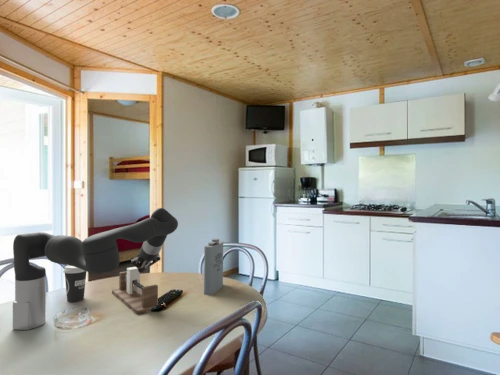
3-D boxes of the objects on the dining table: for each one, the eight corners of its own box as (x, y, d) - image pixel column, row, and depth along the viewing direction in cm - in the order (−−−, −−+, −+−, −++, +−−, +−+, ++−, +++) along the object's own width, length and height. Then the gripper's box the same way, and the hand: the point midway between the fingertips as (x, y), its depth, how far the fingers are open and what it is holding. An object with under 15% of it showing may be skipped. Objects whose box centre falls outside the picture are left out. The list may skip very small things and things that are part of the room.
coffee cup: (69, 305, 137) (69, 269, 137) (59, 300, 143) (59, 266, 143) (91, 299, 145) (91, 265, 145) (81, 294, 151) (81, 262, 151)
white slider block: (139, 292, 148) (139, 268, 148) (129, 294, 145) (129, 269, 145) (136, 290, 151) (136, 266, 151) (126, 292, 148) (126, 268, 148)
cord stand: (165, 307, 136) (165, 284, 136) (137, 314, 128) (137, 290, 128) (137, 288, 161) (137, 268, 160) (112, 293, 153) (112, 272, 153)
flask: (212, 295, 151) (212, 241, 151) (202, 294, 153) (203, 241, 152) (225, 284, 168) (225, 236, 168) (217, 283, 169) (217, 235, 169)
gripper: (138, 256, 127) (127, 280, 137) (169, 252, 136) (157, 275, 145) (133, 241, 131) (123, 265, 141) (164, 238, 140) (152, 261, 149)
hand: (140, 270), depth 143 cm, fingers closed
